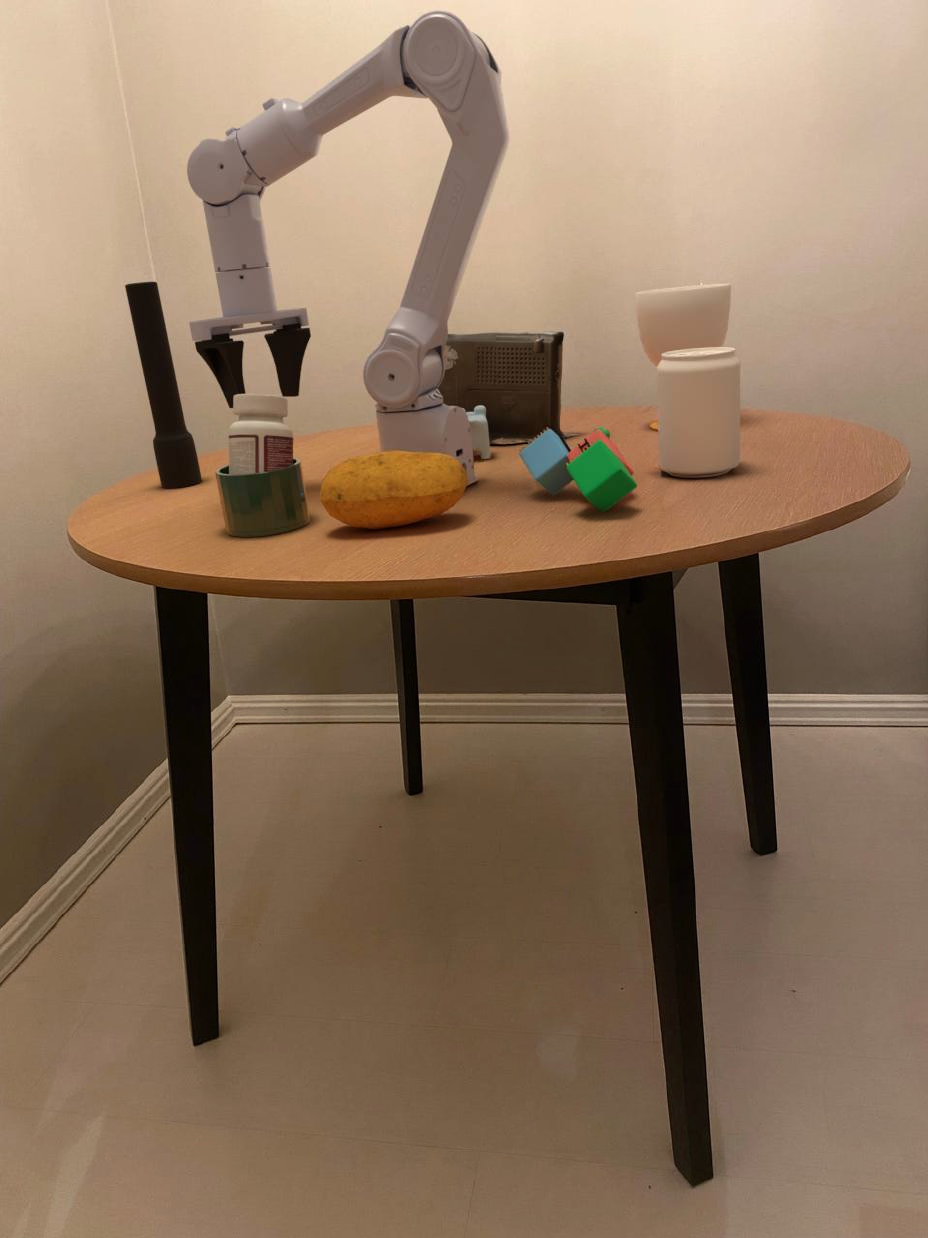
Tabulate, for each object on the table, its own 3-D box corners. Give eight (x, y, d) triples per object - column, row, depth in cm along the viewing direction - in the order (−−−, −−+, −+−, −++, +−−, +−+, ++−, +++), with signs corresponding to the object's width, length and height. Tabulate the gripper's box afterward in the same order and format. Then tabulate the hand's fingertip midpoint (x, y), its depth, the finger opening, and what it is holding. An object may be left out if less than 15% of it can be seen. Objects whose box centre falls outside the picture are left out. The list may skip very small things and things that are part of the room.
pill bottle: (294, 515, 95) (294, 401, 94) (292, 515, 89) (292, 394, 88) (232, 513, 94) (231, 399, 93) (225, 513, 88) (225, 391, 87)
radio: (579, 434, 124) (573, 316, 119) (552, 447, 117) (544, 323, 112) (431, 434, 136) (420, 327, 131) (398, 446, 129) (385, 334, 124)
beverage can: (742, 477, 93) (743, 352, 89) (658, 481, 95) (655, 358, 90) (736, 460, 100) (737, 344, 96) (659, 464, 102) (656, 350, 98)
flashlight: (197, 485, 116) (205, 477, 121) (156, 280, 108) (167, 280, 113) (157, 490, 116) (167, 481, 121) (113, 284, 108) (125, 284, 113)
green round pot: (326, 516, 94) (317, 457, 92) (274, 538, 88) (264, 475, 86) (262, 513, 98) (252, 456, 96) (209, 535, 92) (197, 474, 90)
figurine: (487, 449, 121) (482, 401, 119) (492, 460, 113) (488, 409, 111) (456, 452, 121) (451, 404, 119) (460, 464, 113) (455, 412, 111)
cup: (639, 435, 119) (635, 294, 113) (638, 420, 130) (635, 290, 124) (735, 429, 117) (736, 284, 111) (726, 414, 128) (726, 282, 122)
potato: (332, 521, 92) (321, 452, 90) (471, 508, 91) (464, 439, 89) (319, 543, 85) (308, 468, 82) (471, 529, 84) (464, 454, 82)
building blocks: (588, 553, 90) (535, 467, 96) (657, 500, 87) (599, 415, 93) (549, 524, 84) (496, 434, 90) (623, 466, 81) (563, 378, 87)
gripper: (270, 269, 106) (289, 391, 111) (162, 277, 95) (188, 412, 100) (313, 263, 102) (331, 391, 106) (204, 272, 91) (230, 413, 96)
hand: (265, 401), depth 103 cm, fingers open, 7 cm apart
